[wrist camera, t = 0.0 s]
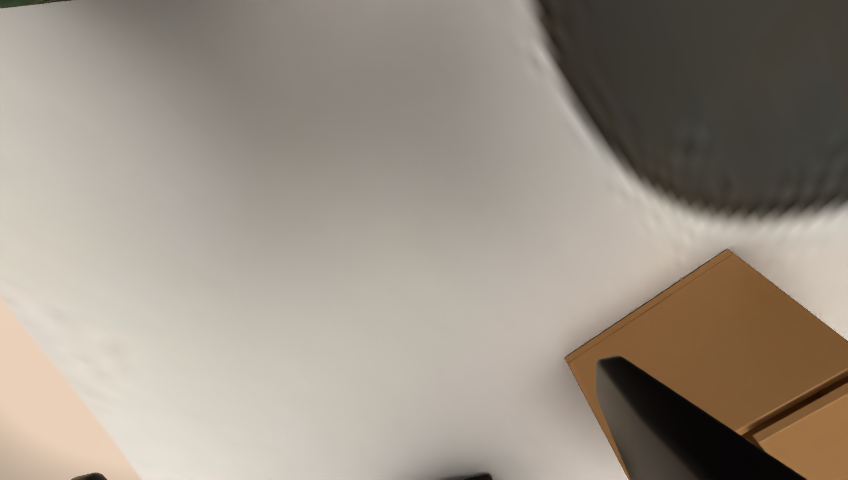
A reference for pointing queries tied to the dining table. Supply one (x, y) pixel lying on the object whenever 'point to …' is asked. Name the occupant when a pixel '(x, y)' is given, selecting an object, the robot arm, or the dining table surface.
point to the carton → (739, 363)
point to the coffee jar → (24, 2)
